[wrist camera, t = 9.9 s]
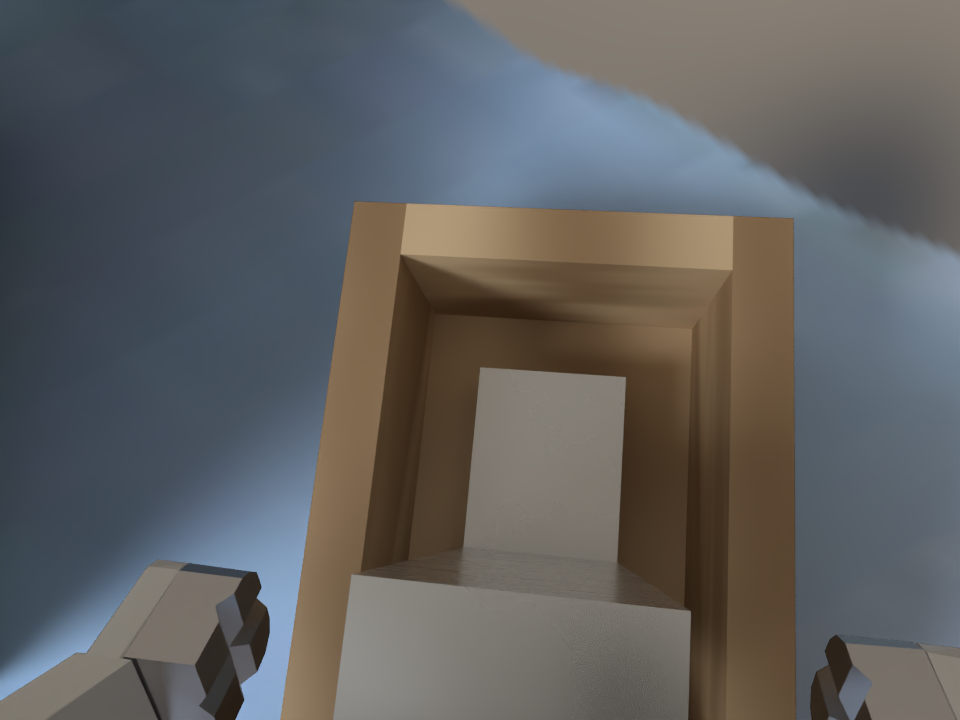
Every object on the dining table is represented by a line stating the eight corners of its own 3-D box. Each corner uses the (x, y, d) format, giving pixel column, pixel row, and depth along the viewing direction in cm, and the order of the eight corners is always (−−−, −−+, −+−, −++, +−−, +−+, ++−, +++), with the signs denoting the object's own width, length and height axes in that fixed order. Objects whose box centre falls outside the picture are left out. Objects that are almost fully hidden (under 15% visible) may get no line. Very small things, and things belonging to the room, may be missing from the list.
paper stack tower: (462, 667, 17) (310, 896, 7) (488, 383, 19) (398, 204, 8) (604, 685, 17) (682, 960, 6) (618, 392, 19) (700, 215, 8)
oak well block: (346, 773, 18) (257, 878, 13) (406, 283, 21) (354, 201, 16) (721, 829, 17) (796, 969, 12) (730, 300, 20) (793, 218, 14)
